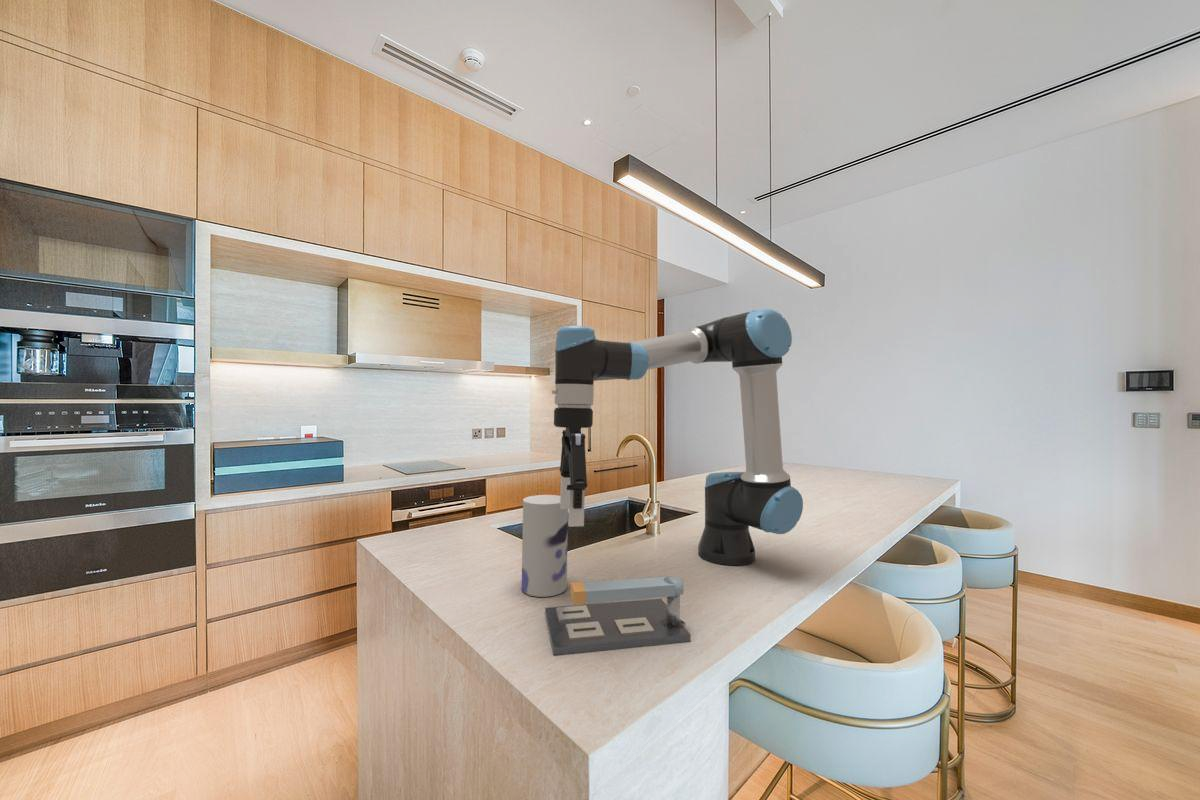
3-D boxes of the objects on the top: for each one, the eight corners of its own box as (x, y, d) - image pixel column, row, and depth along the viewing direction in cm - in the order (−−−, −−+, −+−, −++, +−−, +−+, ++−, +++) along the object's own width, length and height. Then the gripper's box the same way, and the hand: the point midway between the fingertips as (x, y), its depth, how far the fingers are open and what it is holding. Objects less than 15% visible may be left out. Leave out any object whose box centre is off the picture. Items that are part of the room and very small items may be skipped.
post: (679, 622, 86) (680, 588, 86) (688, 634, 82) (689, 597, 82) (657, 625, 85) (658, 589, 85) (665, 636, 81) (666, 599, 81)
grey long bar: (678, 586, 86) (678, 575, 86) (687, 596, 82) (687, 583, 82) (570, 594, 82) (570, 582, 82) (574, 604, 78) (574, 591, 78)
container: (559, 599, 96) (560, 504, 96) (514, 595, 98) (516, 501, 98) (571, 581, 106) (573, 495, 106) (530, 577, 108) (532, 493, 108)
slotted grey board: (661, 604, 94) (661, 596, 94) (690, 641, 80) (690, 632, 80) (544, 613, 89) (545, 605, 89) (553, 655, 75) (553, 645, 75)
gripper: (548, 406, 100) (546, 503, 99) (561, 406, 75) (558, 535, 75) (582, 407, 101) (580, 502, 101) (605, 407, 77) (603, 534, 76)
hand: (571, 516), depth 88 cm, fingers open, 13 cm apart
